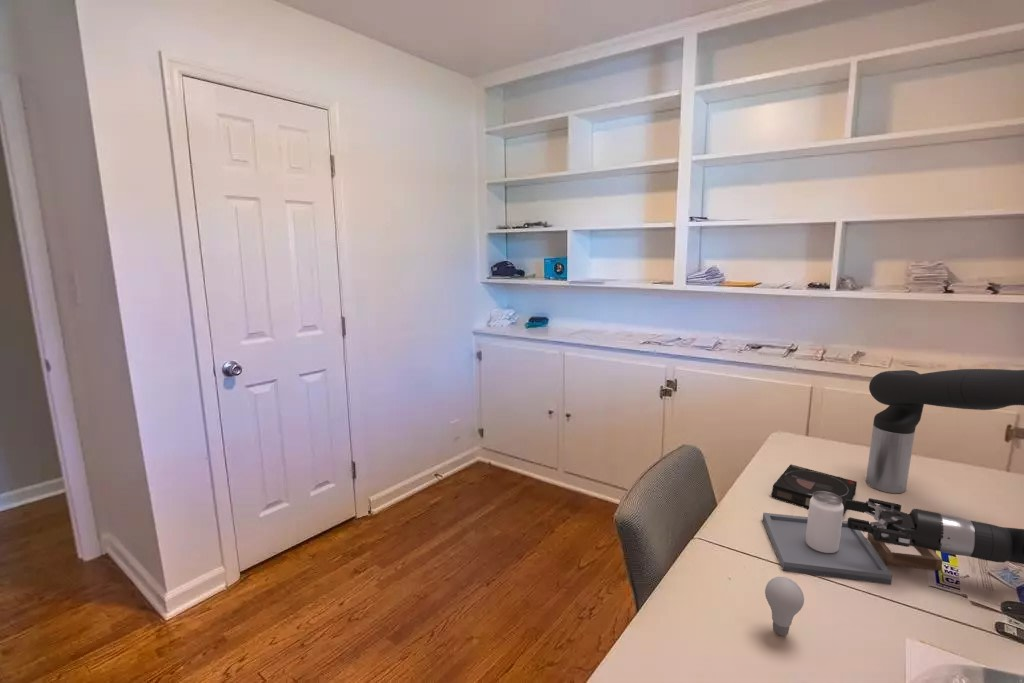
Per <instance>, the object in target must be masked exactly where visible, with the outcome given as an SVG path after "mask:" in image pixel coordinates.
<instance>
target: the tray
mask: <svg viewBox="0 0 1024 683" xmlns="http://www.w3.org/2000/svg"><path fill="white" fill-rule="evenodd" d="M807 521H808V516H800V515H791V514H790V515H789V514H780V513H773V512H772V513H771V512H763V513H762V522H763V525H764V527H765V530H766V532H767V535H768V537H769V538H768V539H769V540H770V542H771V545H772V547H773V549H774V552H775V555H776V557H777V559H778V561H779V564H780V566H781V567H780V568H781V569H782V572H785V573H786V572H787V573H796V574H802V575H804V574H805V575H812V576H819V577H827V578H835V579H842V580H843V579H844V580H850V581H851V580H852V581H859V582H865V583H866V582H868V583H873V584H874V583H875V584H882V585H892V578H893V574H892V572H891V571H890V570H889V569H888V567H887V566H886V563H885V562H883V559H882V558H881V556H880V555H879V554H878V552H877V551H876V549H875V548H874V547H872V546H873V545H872V544H871V542H870V541H869V540H868V538H866V536H865V535H864V533H862V532H863V531H859V530H855V529H850V528H848V527H847V521H848V520H842V528H841V535H840V543H839V549H838V551H837V552H835V553H832V554H826V553H821V552H818V551H815V550H813V549H812V548H810V547H809V546H808V544H807V543H806V530H807Z"/></svg>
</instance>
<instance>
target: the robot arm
mask: <svg viewBox="0 0 1024 683" xmlns="http://www.w3.org/2000/svg"><path fill="white" fill-rule="evenodd" d="M868 390H869V393H870V394H871V396H872V398H873V399H874V400H875V401H877V402H878V403H880V404H882V405H885V406H887V407H886V408H885V409H883V410H881V411H879V412H878V413H876V414H875V415H874V417H873V424H872V431H871V438H870V448H869V455H868V461H867V470H866V476H865V477H866V478H865V484H866V485H868V486H869V487H871V488H873V489H875V490H878V491H882V492H885V493H890V494H891V493H892V494H902V493H905V492H906V491H907V485H908V479H909V473H910V467H911V466H910V465H911V459H912V452H913V446H914V439H915V434H916V428H917V426H918V424H919V423H920V421H921V419H922V414H923V410H924V406H925V405H929V406H936V407H941V408H953V409H962V410H975V411H976V410H977V411H992V410H999V409H1003V408H1004V409H1005V408H1006V407H1011V406H1024V369H1005V368H1003V369H1001V368H998V369H997V368H964V369H963V368H962V369H961V368H960V369H948V370H940V371H939V370H938V371H933V372H925V373H919V372H917V371H916V370H913V369H912V370H911V369H904V370H903V369H901V370H887V371H881V372H878V373H877V374H876V375H874V376H873V377H872V378H871V380H870V381H869V384H868ZM845 508H846V509H847V511H848V510H849V511H853V512H858V513H863V514H867V515H869V516H871V517H873V519H874V520H875V521H872V522H870V521H869V520H864V519H859V518H855V517H850V516H849V517H848V518H847V520H846V521H847V527H848V528H850V529H855V530H859V531H861V532H865V533H867V534H868V533H869V534H870V535H872V536H874V538H873V539H874V540H876V541H880V542H884V543H885V544H891V545H896V546H901V547H904V548H905V547H907V548H909V547H910V546H914V547H915V546H917V547H922V548H927V549H931V550H934V551H935V552H936V551H937V552H941V553H944V554H945V553H946V554H950V555H956V556H966V557H969V558H974V559H979V560H983V561H988V562H993V563H1006V562H1011V563H1015V564H1020V565H1021V564H1022V565H1024V528H1015V527H1007V526H1006V527H1004V526H998V525H995V524H991V523H986V522H981V521H976V520H970V519H966V518H962V517H959V516H955V515H951V514H947V513H946V514H945V513H940V512H937V511H930V510H925V509H921V508H912V510H911V511H910V513H906V512H903V511H902V505H901V504H900V503H894V502H890V501H885V500H880V499H875V498H868V500H866V501H865V502H864V501H858V500H855V499H852V500H850V499H846V500H845ZM881 536H883V537H881ZM885 537H888V538H885ZM910 543H911V544H912V545H910Z"/></svg>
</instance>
